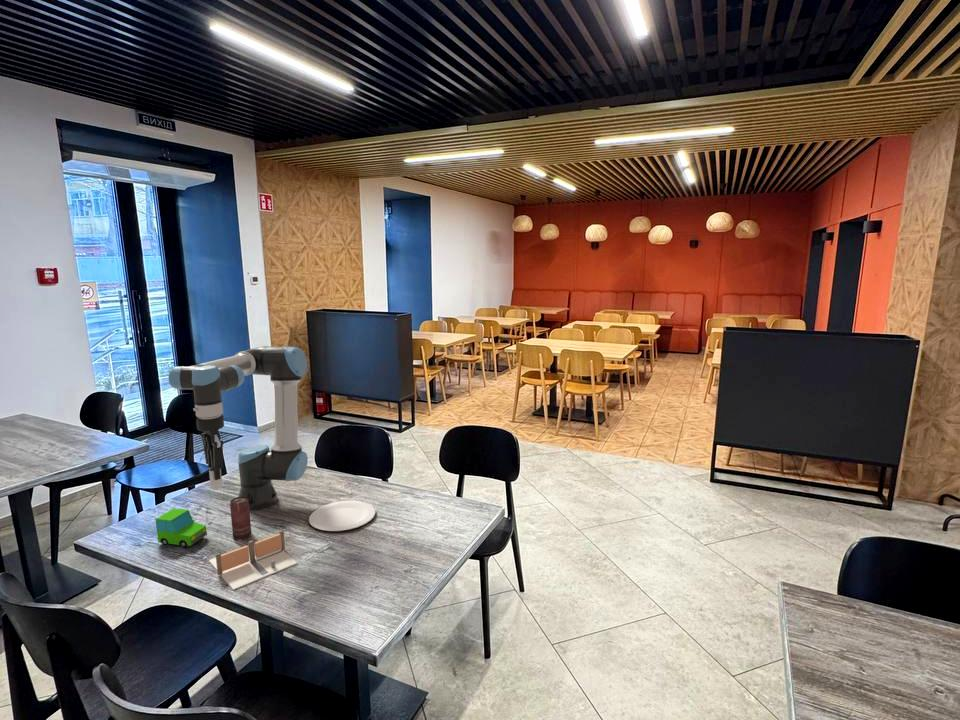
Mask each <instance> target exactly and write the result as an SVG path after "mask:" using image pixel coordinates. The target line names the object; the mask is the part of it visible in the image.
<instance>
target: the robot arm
mask: <svg viewBox="0 0 960 720" xmlns="http://www.w3.org/2000/svg"><path fill="white" fill-rule="evenodd" d="M307 369H308V360H307V358H306V354H305V352H304V351H303V350H302V349H301V348H300V347H295V346H267V345H265V346H258V347H254V348H249V349H247V350H242V351H238V352H237V353H235V354H234V355H233V356H228V357H223V358H220V359H219V358H218V359H215V360H212V361H207V362H202V363H199V364H194V365H190V366H188V365H187V366H184V365H182V366H174V367H173V368H171V370H169V371H170V372H169V373H168V382H169V385H170V387H172V388H173V389H176V390H183V391H184V390H192V391H193V399H194V408H192V409H193V411H194V412H195V416H196V420H195V421H196V429H197V431H200V432H203V433H201V434H200V436H201V441H202V446H203V452H204V459H205V464H206V465H207V467H208V471H209V482H210V485H209V486H210V488H211V489H212V490H213V491H215V490H219V489H222V488H223V480H222V478H223V477H222V469H224V452H223V451H224V450H223V449H224V441H223V440H221V433H219V430H221V429H223V428H224V426H225V421H224V420H225V418H224V415H223V414H224V407H223V406H224V404H223V400H222V399H223V398H222V396H223V395H222V394H223V393H226V392H228V391H231V390H235V389H236V388H238V387H239V386H241V385H242V384H243V382H245V377H247V376H251V375H256V376H259V375H260V376H270V377H269V378H270V382H272V383H273V384H274V445H273V446H271V450H270V447H269V445H267V444H266V445H265V444H262V445H261V444H260V445H259V444H258V445H255V446H250V447H247V448H246V449H244V450H242V451H240V452H239V454H238V456H237V457H238V459H237V460H238V470H239V481H240V482H239V484H240V488H239V493H238V495H237V496H238V497H247V499H248V500H249V510H250V511H255V510H261V509H265V508H268V507H270V506H272V505H273V504H275V503H277V501H278V493H277V491H276V489H275V486H274V484H273V482H272V481H286V482H290V481H295V482H296V481H298V480H300V479H301V478H302V477H303V476H304V474H305V472H306V470H307V466H308V460H309V459H308V454H307V452H305V451H303V447H302V445H301V444H300V443H299V440H298V438H299V437H298V436H299V435H298V433H299V431H298V430H299V429H298V428H299V427H298V426H299V425H298V423H299V422H298V417H299V416H298V415H299V413H298V384H299V383H300V382H301V381H302V377H303V376H304V375H306V373H307Z"/></svg>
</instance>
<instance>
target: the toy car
mask: <svg viewBox="0 0 960 720" xmlns="http://www.w3.org/2000/svg"><path fill="white" fill-rule="evenodd" d="M195 521H196V519H193V517H192V515H191V512H190V510H189V509H184V508H175V507H174V508H172V509H170V510H169V511H167V512H165V513H164V514H161V515H160V516H158V517H156V518H155V525H156V535H157V541H158V544H159V543H160V544H161V545H162V546H164V547H165V546H166V547H167V546H169V545H177V546H180V548H182V549H186V548H187V547H191V546H192V545H194V544H195V543H197V542H198V541H200V540H201V539H203V538H204V537H206V536H207V534H208V533H207V525H205V524H202V523H198V522H195Z"/></svg>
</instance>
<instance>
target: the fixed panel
mask: <svg viewBox="0 0 960 720" xmlns="http://www.w3.org/2000/svg"><path fill="white" fill-rule="evenodd" d="M254 543H255V549H254ZM285 543H286V542H285V531H284V530H283V529H281V530H279V533H277V534H275V535H272V536H270V537H266V538H264V539H260V540H258V541H254V540H249V541H248V546H249V554H250V562H251V563H253V562H255V554H256V558H259V557H262V556H264V555H267V554H269V553H272V552H275V551H277V550H280V549H281V550H283V551H285V549H286V544H285Z"/></svg>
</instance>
